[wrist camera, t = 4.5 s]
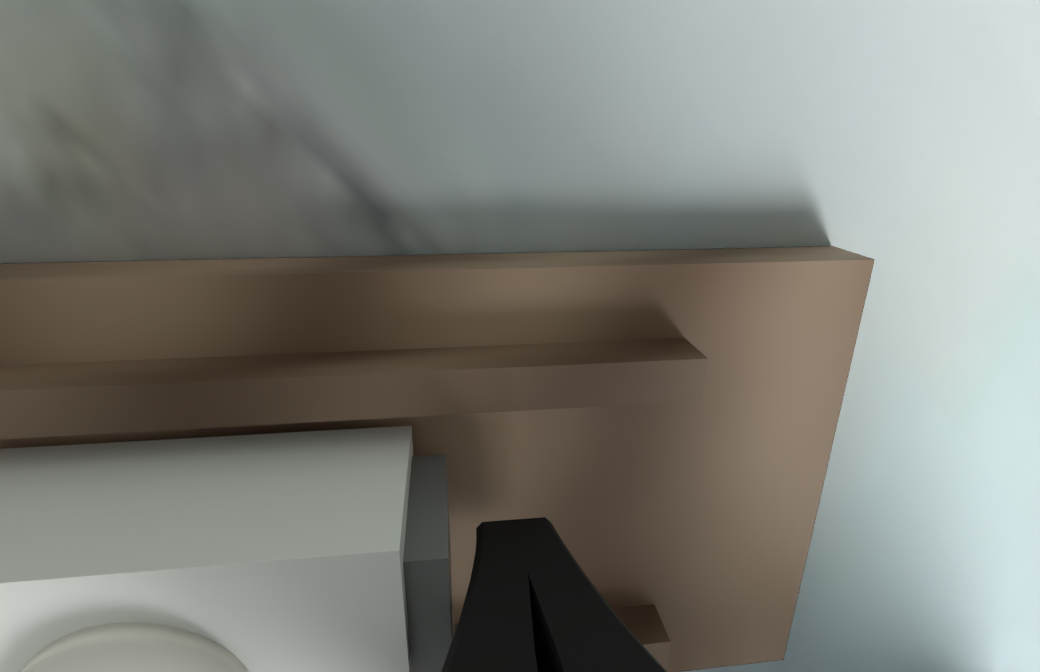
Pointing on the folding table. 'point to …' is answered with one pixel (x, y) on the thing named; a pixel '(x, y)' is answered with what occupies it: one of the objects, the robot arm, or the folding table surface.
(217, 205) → the folding table surface
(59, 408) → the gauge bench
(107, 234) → the folding table surface
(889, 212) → the folding table surface
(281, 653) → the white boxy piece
